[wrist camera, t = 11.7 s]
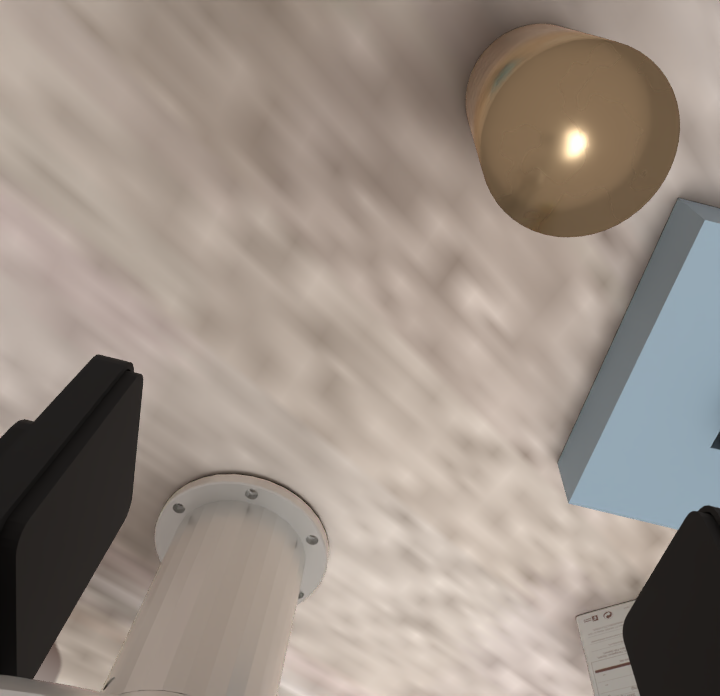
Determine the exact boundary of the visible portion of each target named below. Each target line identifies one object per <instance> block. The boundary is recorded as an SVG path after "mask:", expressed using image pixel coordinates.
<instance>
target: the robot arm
mask: <svg viewBox="0 0 720 696" xmlns="http://www.w3.org/2000/svg"><path fill="white" fill-rule="evenodd" d="M142 389H143V376H142V374H139V373H135V372H134V367H133V364H132V363H131V362H127V361H123V360H119V359H115V358H111V357H107V356H103V355H96V356H94V357H93V358H92V359H91V360H90V361H89V362H88V364H87V365H86V366H85V367H84V368H83V369H82V370H81V371H80V372H79V373H78V374H77V376H76V377H75V378H74V379H73V380H72V381H71V382H70V383H69V384H68V385H67V386H66V387H65V389H64V390H63V391H62V392H61V393H60V394H59V395H58V396H57V397H56V398H55V399H54V401H53V402H52V403H51V404H50V405H49V406H48V407H47V408H46V409H45V410H44V411H43V412H42V414H41V415H40V416H39V417H38V418H37V419H36V420H35V421H34V422H33V421H29V420H25V419H24V420H20V421H18V422H17V423H15V424H14V425H13V426H12V427H11V428H10V429H9V430H8V431H7V432H6V433H5V434H4V435H3V436H2V437H1V438H0V696H277V693H278V688H279V684H280V679H281V674H282V670H283V665H284V661H285V656H286V651H287V647H288V642H289V638H290V633H291V628H292V624H293V619H294V614H295V610H296V605H297V604H299V603H301V602H303V601H304V600H306V599H307V598H308V597H309V596H310V595H312V594H313V593H314V592H315V590H316V589H317V588H318V586H319V585H320V584H321V582H322V579H323V577H324V575H325V572H326V568H327V563H328V557H329V544H328V540H327V536H326V532H325V530H324V528H323V526H322V524H321V522H320V520H319V518H318V517H317V516H316V514H315V513H314V512H313V510H312V509H311V508H310V507H309V506H308V505H307V504H306V503H305V502H304V501H302V500H301V499H300V498H299V497H298V496H296V495H295V494H293V493H292V492H290V491H289V490H287V489H285V488H284V487H281V486H279V485H277V484H275V483H272V482H270V481H267V480H264V479H260V478H257V477H253V476H246V475H238V474H221V475H213V476H209V477H204V478H200V479H198V480H195V481H193V482H190V483H188V484H187V485H185V486H184V487H182V488H181V489H179V490H178V491H176V492H175V493H174V494H173V495H172V496H171V498H170V499H169V500H168V501H167V502H166V504H165V506H164V508H163V510H162V511H161V513H160V515H159V518H158V520H157V523H156V526H155V534H154V540H155V548H156V552H157V555H158V557H159V560H160V562H161V565H160V567H159V569H158V571H157V573H156V575H155V577H154V580H153V582H152V584H151V586H150V588H149V590H148V592H147V595H146V597H145V599H144V601H143V603H142V605H141V607H140V609H139V612H138V614H137V616H136V618H135V620H134V622H133V624H132V626H131V629H130V631H129V633H128V635H127V637H126V639H125V641H124V644H123V646H122V648H121V650H120V652H119V654H118V656H117V658H116V661H115V663H114V665H113V667H112V669H111V671H110V673H109V675H108V678H107V680H106V682H105V684H104V686H103V688H102V690H101V692H98V691H94V690H89V689H84V688H79V687H74V686H70V685H64V684H58V683H52V682H46V681H40V680H33V678H34V676H35V675H36V673H37V671H38V669H39V668H40V666H41V664H42V663H43V661H44V659H45V657H46V655H47V654H48V652H49V650H50V649H51V647H52V645H53V643H54V642H55V640H56V638H57V637H58V635H59V633H60V631H61V630H62V628H63V626H64V624H65V623H66V621H67V619H68V618H69V616H70V614H71V612H72V611H73V609H74V607H75V605H76V604H77V602H78V600H79V598H80V597H81V595H82V593H83V592H84V590H85V588H86V586H87V585H88V583H89V581H90V579H91V578H92V576H93V574H94V572H95V571H96V569H97V567H98V566H99V564H100V562H101V560H102V559H103V557H104V555H105V553H106V552H107V550H108V548H109V546H110V545H111V543H112V541H113V540H114V538H115V536H116V534H117V533H118V531H119V529H120V527H121V526H122V524H123V522H124V520H125V518H126V516H127V514H128V511H129V508H130V505H131V500H132V492H133V482H134V471H135V461H136V451H137V440H138V430H139V420H140V409H141V399H142ZM623 640H624V644H625V647H626V651H627V654H628V657H629V661H630V664H631V667H632V671H633V674H634V677H635V681H636V684H637V688H638V691H639V694H640V696H720V508H718V507H714V506H710V505H707V506H703V507H702V508H700V509H699V510H698V511H692V512H690V513H689V514H688V515H687V516H686V518H685V519H684V521H683V523H682V524H681V526H680V528H679V529H678V531H677V533H676V534H675V536H674V538H673V539H672V541H671V543H670V544H669V546H668V548H667V549H666V551H665V553H664V554H663V556H662V558H661V559H660V561H659V563H658V564H657V566H656V568H655V569H654V571H653V573H652V574H651V576H650V578H649V579H648V581H647V583H646V584H645V586H644V587H643V589H642V591H641V592H640V594H639V596H638V597H637V599H636V601H635V602H634V604H633V606H632V607H631V609H630V611H629V612H628V614H627V616H626V618H625V620H624V624H623Z"/></svg>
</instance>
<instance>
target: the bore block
mask: <svg viewBox="0 0 720 696" xmlns="http://www.w3.org/2000/svg"><path fill="white" fill-rule="evenodd" d="M558 467H559V470H560V474H561V478H562V481H563V485H564V489H565V492H566V496H567V500H568V503H569V504H573V505H578V506H582V507H586V508H590V509H594V510H598V511H603V512H607V513H611V514H615V515H619V516H623V517H627V518H632V519H636V520H640V521H644V522H648V523H652V524H656V525H661V526H665V527H669V528H673V529H677V530H678V529H679V528H680V526H681V524H682V523H683V521H684V519H685V518H686V516H687V515H688V514H689V513H690V512H692V511H698V510H699V509H700V508H702V507H703V506H707V505H710V506H714V507H718V508H720V208H716V207H712V206H708V205H704V204H701V203H697V202H693V201H689V200H685V199H681V198H678V199H677V201H676V204H675V206H674V208H673V210H672V212H671V215H670V217H669V219H668V221H667V223H666V226H665V228H664V230H663V232H662V234H661V237H660V239H659V241H658V243H657V245H656V248H655V250H654V252H653V254H652V256H651V259H650V261H649V263H648V265H647V267H646V270H645V272H644V274H643V276H642V278H641V281H640V283H639V285H638V287H637V289H636V292H635V294H634V296H633V298H632V300H631V303H630V305H629V307H628V309H627V311H626V314H625V316H624V318H623V320H622V322H621V324H620V327H619V329H618V331H617V333H616V335H615V338H614V340H613V342H612V344H611V346H610V349H609V351H608V353H607V355H606V357H605V360H604V362H603V364H602V366H601V368H600V371H599V373H598V375H597V377H596V379H595V382H594V384H593V386H592V388H591V390H590V393H589V395H588V397H587V399H586V401H585V404H584V406H583V408H582V410H581V412H580V415H579V417H578V419H577V421H576V423H575V426H574V428H573V430H572V432H571V434H570V437H569V439H568V441H567V443H566V445H565V447H564V450H563V452H562V454H561V456H560V458H559V461H558Z"/></svg>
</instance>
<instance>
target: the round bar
mask: <svg viewBox="0 0 720 696" xmlns="http://www.w3.org/2000/svg"><path fill="white" fill-rule="evenodd" d="M465 102H466V113H467V119H468V122H469V126H470V129H471V133H472V136H473V139H474V143H475V146H476V150H477V153H478V157H479V160H480V164H481V167H482V171H483V174H484V177H485V181H486V184H487V186H488V188H489V190H490V192H491V194H492V196H493V197H494V199H495V200H496V202H497V203H498V205H499V206H500V207H501V208H502V209H503V210H504V212H505V213H507V214H508V215H509V216H510V217H511V218H512V219H513V220H515V221H516V222H518V223H519V224H521V225H523V226H524V227H526V228H529V229H531V230H533V231H536V232H539V233H542V234H545V235H550V236H556V237H579V236H585V235H591V234H595V233H598V232H601V231H604V230H607V229H609V228H611V227H613V226H616V225H618V224H619V223H621V222H623V221H624V220H626V219H628V218H629V217H631V216H632V215H633V214H635V213H636V212H637V211H639V210H640V209H641V208H642V207H643V206H644V205H645V204H646V203H647V202H648V201H649V200H650V199H651V198H652V197H653V195H654V194H655V193H656V192H657V191H658V189H659V188H660V186H661V185H662V183H663V182H664V180H665V178H666V176H667V174H668V172H669V170H670V168H671V166H672V163H673V161H674V158H675V155H676V151H677V147H678V142H679V133H680V117H679V110H678V105H677V101H676V98H675V95H674V92H673V89H672V87H671V85H670V83H669V82H668V80H667V78H666V77H665V75H664V74H663V72H662V71H661V70H660V68H659V67H658V66H657V65H656V64H655V63H654V62H653V61H652V60H651V59H649V58H648V57H647V56H645V55H644V54H642V53H641V52H640V51H638V50H636V49H634V48H632V47H630V46H628V45H625V44H622V43H619V42H616V41H612V40H608V39H605V38H601V37H597V36H594V35H590V34H586V33H583V32H579V31H575V30H572V29H568V28H565V27H561V26H557V25H552V24H530V25H525V26H521V27H518V28H516V29H513V30H511V31H509V32H507V33H505V34H504V35H502V36H501V37H499V38H498V39H496V40H495V41H494V42H493V43H492V44H491V45H490V46H489V47H488V48H487V49H486V50H485V51H484V52H483V53H482V55H481V56H480V58H479V59H478V61H477V62H476V64H475V66H474V68H473V70H472V72H471V75H470V78H469V81H468V85H467V89H466V99H465Z"/></svg>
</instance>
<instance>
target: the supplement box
mask: <svg viewBox="0 0 720 696" xmlns="http://www.w3.org/2000/svg"><path fill="white" fill-rule="evenodd" d="M635 601H636V600H633V601H630V602H626V603H622V604H618V605H615V606H611V607H607V608H604V609H600V610H597V611H593V612H590V613H586V614H583V615H579V616H577V617H576V621H577V625H578V629H579V634H580V638H581V642H582V646H583V649H584V654H585V658H586V662H587V666H588V671H589V675H590V679H591V684H592V688H593V693H594V696H640V694H639V691H638V688H637V684H636V681H635V677H634V674H633V671H632V667H631V664H630V661H629V657H628V654H627V651H626V647H625V644H624V640H623V624H624V620H625V618H626V616H627V614H628V612H629V611H630V609H631V607H632V606H633V604H634V602H635Z"/></svg>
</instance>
